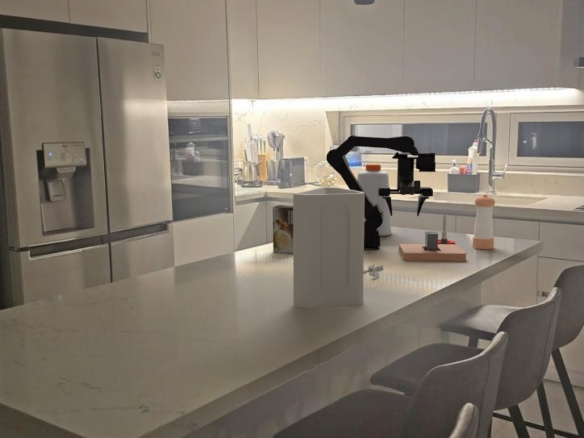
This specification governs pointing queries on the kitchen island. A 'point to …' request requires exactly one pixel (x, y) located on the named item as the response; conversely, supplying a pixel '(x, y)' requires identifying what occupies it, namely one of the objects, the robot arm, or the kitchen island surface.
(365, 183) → the plastic bottle
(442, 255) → the tan flat board
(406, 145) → the robot arm
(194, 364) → the kitchen island surface
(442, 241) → the tow hook
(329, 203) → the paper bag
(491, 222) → the pepper shaker
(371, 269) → the pliers
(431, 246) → the dark gray brick
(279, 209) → the coffee box
